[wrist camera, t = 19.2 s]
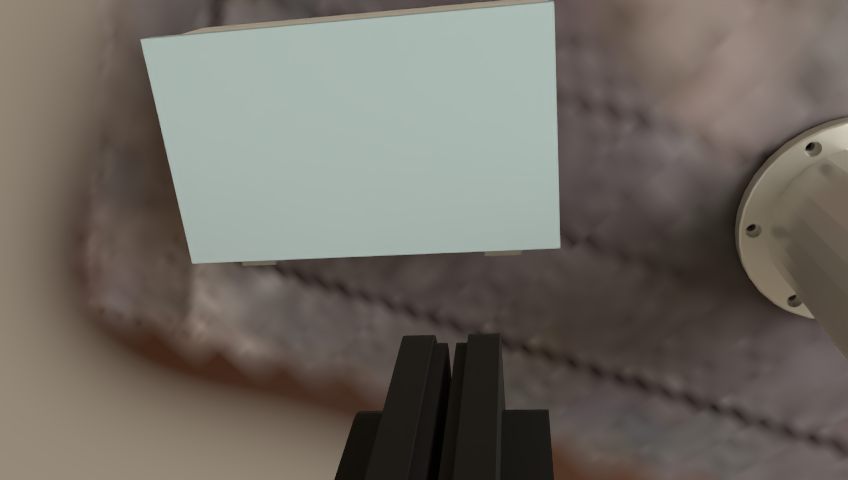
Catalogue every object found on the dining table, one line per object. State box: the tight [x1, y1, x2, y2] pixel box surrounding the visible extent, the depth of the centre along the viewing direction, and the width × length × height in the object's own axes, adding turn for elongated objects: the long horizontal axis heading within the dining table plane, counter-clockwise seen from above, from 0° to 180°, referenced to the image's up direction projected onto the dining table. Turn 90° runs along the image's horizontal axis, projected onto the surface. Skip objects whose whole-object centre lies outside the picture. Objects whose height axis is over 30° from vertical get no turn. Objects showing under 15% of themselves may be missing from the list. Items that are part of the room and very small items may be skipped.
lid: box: [141, 1, 560, 264], centre depth 36 cm, size 20×12×1 cm, turn 96°
